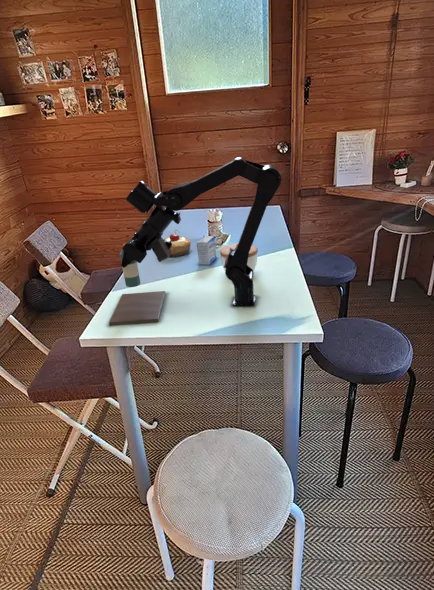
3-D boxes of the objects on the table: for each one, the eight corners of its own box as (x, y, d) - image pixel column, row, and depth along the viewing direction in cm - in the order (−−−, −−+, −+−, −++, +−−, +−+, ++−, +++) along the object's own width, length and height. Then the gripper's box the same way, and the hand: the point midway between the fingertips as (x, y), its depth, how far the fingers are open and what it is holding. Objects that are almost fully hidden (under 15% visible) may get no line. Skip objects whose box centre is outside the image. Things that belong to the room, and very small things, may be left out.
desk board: (158, 322, 123) (157, 318, 123) (109, 325, 124) (108, 322, 123) (165, 293, 141) (165, 290, 140) (122, 296, 141) (122, 294, 141)
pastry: (157, 257, 174) (153, 235, 170) (169, 247, 184) (166, 226, 179) (184, 258, 170) (181, 235, 166) (195, 248, 180) (193, 227, 176)
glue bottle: (141, 285, 130) (133, 245, 124) (126, 288, 129) (118, 247, 123) (140, 280, 134) (133, 240, 127) (125, 282, 133) (117, 243, 127)
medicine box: (209, 265, 161) (207, 242, 157) (198, 264, 162) (196, 242, 158) (216, 258, 167) (214, 236, 163) (205, 257, 169) (203, 235, 165)
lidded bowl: (249, 265, 157) (247, 235, 152) (264, 276, 147) (263, 244, 141) (216, 272, 154) (214, 242, 148) (230, 284, 143) (227, 252, 138)
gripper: (172, 254, 116) (139, 293, 122) (183, 233, 132) (153, 269, 138) (138, 226, 113) (106, 268, 119) (154, 209, 129) (124, 247, 135)
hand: (124, 263), depth 128 cm, fingers closed on glue bottle, 4 cm apart
